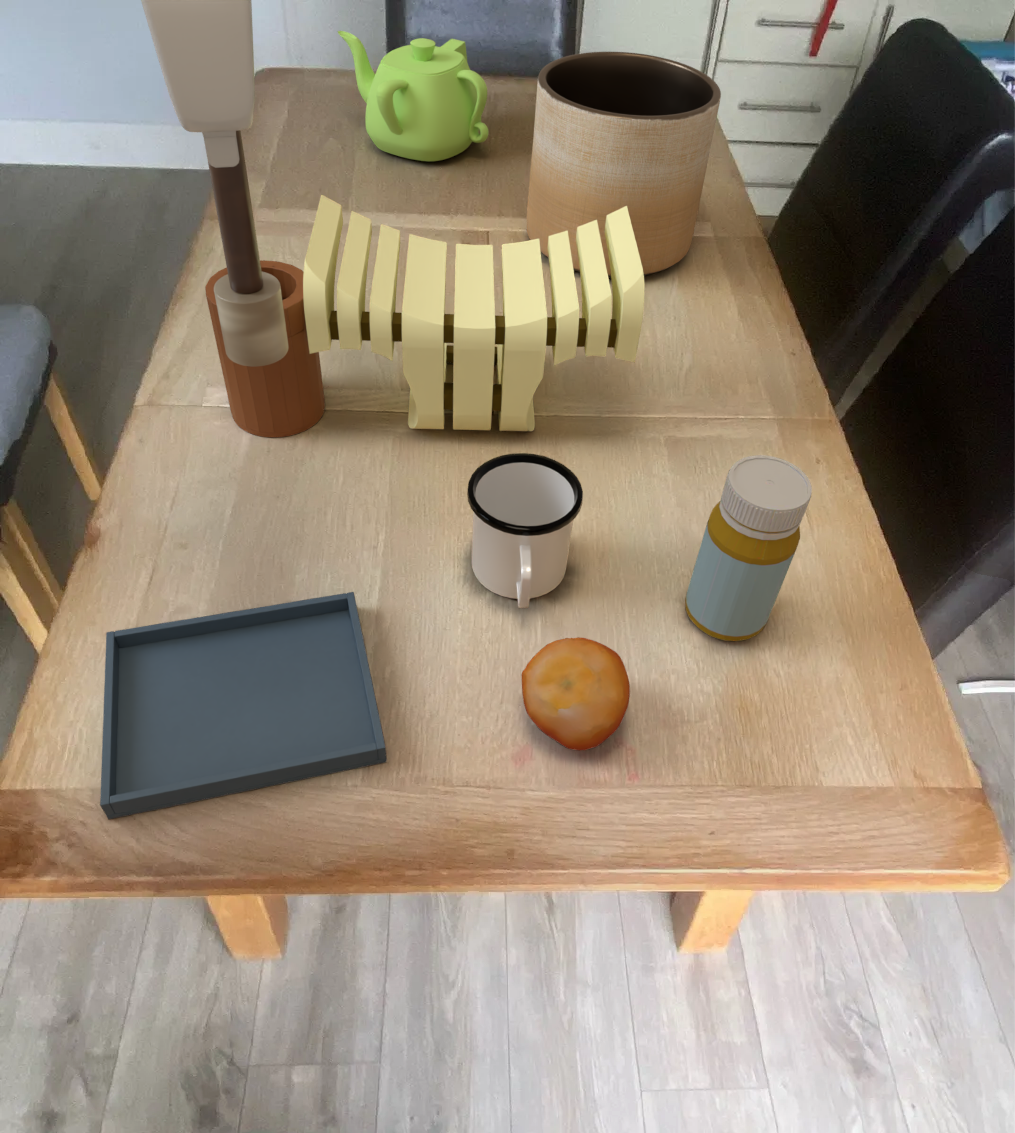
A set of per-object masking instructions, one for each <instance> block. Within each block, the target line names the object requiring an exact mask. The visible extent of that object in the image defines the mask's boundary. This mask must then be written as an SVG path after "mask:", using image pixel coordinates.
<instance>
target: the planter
mask: <svg viewBox="0 0 1015 1133" xmlns="http://www.w3.org/2000/svg"><path fill="white" fill-rule="evenodd" d="M721 97H722V92H721V89H720V86H719V85H718V84H717V82H716V81H715V80H714V79H713V78H711V77H710V76H709V75H708V74H706V73H704V72H702V71H701V70H699V69H697V68H695V67H692V66H690V65H687V64H685V63H682V62H680V61H677V60H673V59H670V58H665V57H662V56H657V55H651V54H645V53H637V52H627V51H591V52H582V53H575V54H570V55H566V56H563V57H560V58H556V59H554V60H552V61H551V62H549V63H547V64H546V65H545V66H543V67H542V68H541V70H540V71H539V73H538V77H537V86H536V98H535V99H536V100H535V113H534V125H533V135H532V136H533V139H532V150H531V161H530V170H529V171H530V172H529V184H528V194H527V195H528V196H527V206H526V207H527V208H526V233H527V236H528V238H529V240H534V239H539V242H540V251H541V254H543V256H545V257H547V258H548V259H549V256H548V237H549V236H551V235H554V234H557V233H561V232H564V231H567V230H568V236H569V243H570V250H571V256H572V263H573V270H574V272H577V273H580V267H579V259H578V251H577V244H576V234H577V227H579V226H581V225H584V224H587V223H589V222H592V221H594V220H597V223H598V228H599V233H600V238H601V243H602V248H603V253H604V259H605V264H606V269H607V274H608V278H611V269H610V261H609V255H608V249H607V243H606V238H605V233H604V231H605V224H606V217H607V215H608V214H610V213H612V212H615V211H617V210H619V209H621V208H623V207H625V206H627V208H628V212H629V216H630V220H631V224H632V228H633V232H634V236H635V240H636V244H637V248H638V252H639V256H640V260H641V264H642V268H643V273H644V277H645V276H648V275H653V274H656V273H659V272H661V271H664V270H667V269H669V268H670V267H672V266H674V265H675V264H677V263H679V262H680V261H681V260H683V258H684V257H685V256H686V255H687V254H688V252H689V250H690V248H691V245H692V242H693V239H694V234H695V229H696V224H697V219H698V213H699V209H700V204H701V200H702V194H703V188H704V184H705V179H706V178H705V177H706V173H707V167H708V162H709V157H710V154H711V147H712V144H713V137H714V132H715V127H716V123H717V118H718V114H719V108H720V103H721Z"/></svg>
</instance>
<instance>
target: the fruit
mask: <svg viewBox="0 0 1015 1133" xmlns="http://www.w3.org/2000/svg"><path fill="white" fill-rule="evenodd" d="M521 671H522V672H521V675H520V676H521V690H522V700H523V706H524V708H525V712H526V714H527V715H528V717H529V719H530V720H531V721H532V722H533V724H534V725H535V726H536V727H537V728H538V729H539V730H540V731H541V732H542V733H543V734H545V735H546V736H547V737H549V738H550V739H552V740H554V741H555V742H557V743H559V744H560V745H562V746H563V747H565V748H566V749H568V750H575V751H586V750H590V749H594V748H597V747H599V746H601V744H603V743H604V742H605V741H607V739H609V738H610V737H611V736H612V735H614V733H615V732H616V731H617V730H618V729H619V728H620V726H621V725H622V722H623V721H624V717H625V715H626V712H627V710H628V708H629V702H630V696H631V695H630V694H631V685H630V679H629V676H628V673H627V669H626V666H625V664H624V662H623V659H622V658H621V656H620V655H619V654H618V652H617V651H615V650H614V649H612V648H610V647H608V646H607V645H605V644H603V643H600V642H599V641H596V640H593V639H590V638H587V637H580V636H579V637H570V638H569V637H565V638H560V639H556V640H553V641H552V642H549V643H547V644H546V645H545V646H543V647H542V648H541V649H540V650H539V651H538V652H537V653H535V655H534V656H533V657H532V658H531V659H530V660H529V662H527V664H526V666H525V668H524V669H523V670H521Z"/></svg>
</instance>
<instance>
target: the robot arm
mask: <svg viewBox="0 0 1015 1133" xmlns="http://www.w3.org/2000/svg"><path fill="white" fill-rule="evenodd" d="M140 1H141V5H142V9H143V12H144V15H145V19H146V22H147V26H148V29H149V32H150V37H151V39H152V43H153V46H154V49H155V53H156V57H157V59H158V63H159V66H160V70H161V73H162V76H163V80H164V83H165V87H166V90H167V92H168V96H169V98H170V101H171V105H172V107H173V110H174V113H175V115H176V117H177V119H178V121H179V124H180V125H181V127H182V129H184V130H185V131H187V132H189V133H201V134H202V137H203V143H204V148H206V149H205V154H206V160H207V159H208V160H207V163H208V162H209V164H210V165H211V166H213V167H215V168H220V167H234V166H236V165H237V164H238V163H239V153H238V146H237V139H236V131H239V130H241V131H245V130H249V129H250V128H251V127H252V126H253V124H254V123H253V122H254V117H255V105H256V104H255V101H256V100H255V98H256V94H255V93H256V91H255V90H256V89H255V86H256V85H255V83H256V82H255V81H256V80H255V55H254V32H253V30H254V29H253V28H254V27H253V6H252V0H140Z"/></svg>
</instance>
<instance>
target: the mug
mask: <svg viewBox="0 0 1015 1133" xmlns="http://www.w3.org/2000/svg"><path fill="white" fill-rule="evenodd" d="M583 491H584V490H583V487H582V483H581V482H580V480H579V478H578V477H577V475H576V474H575V473H574V472H573V471H572V470H571V469H569V467H567V466H566V465H565V464H563V463H561V462H560V461H557V460H556V459H553V458H550V457H547V456H545V455H541V454H537V453H528V452H527V453H526V452H515V453H514V452H513V453H507V454H502V455H499V456H496V457H493V458H491V459H488V460H487V461H485V462H483V463H482V464H481V465H479V466H478V467H477V468H476V469H475V470H474V471H473V473H471V476H470V477H469V479H468V484H467V491H466V497H467V502H468V504H469V507H470V509H471V511H472V513H473V515H472V536H471V537H472V538H471V540H472V542H471V569H472V571H473V574H474V576H475V578H476V579H477V581H478V582H479V583H480V584H481V585H482V586H483V587H484V588H485V589H487V590H488V591H490V592H492V593H494V594H496V595H499V596H501V597H504V598H509V599H514V600H515V599H516V600H517V607H518V608H519V609H528V608H529V606H530V600H531V599H534V598H539V597H541V596H545V595H547V594H549V593H550V592H552V591H553V590H555V589H556V588H557V587H558V586H559V585H560V584H561V582H562V581H563V579H564V578H565V574H566V572H567V567H568V559H569V552H570V545H571V544H570V543H571V539H572V538H571V536H572V530H573V523H574V520H575V519H576V518H577V516H578V515H579V513H580V512H581V509H582V506H583V501H584V500H583V497H584V496H583V495H584V492H583Z"/></svg>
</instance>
